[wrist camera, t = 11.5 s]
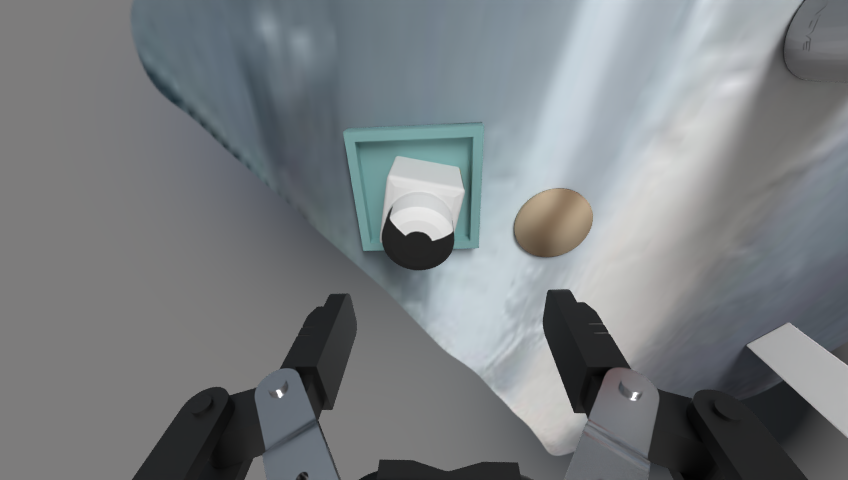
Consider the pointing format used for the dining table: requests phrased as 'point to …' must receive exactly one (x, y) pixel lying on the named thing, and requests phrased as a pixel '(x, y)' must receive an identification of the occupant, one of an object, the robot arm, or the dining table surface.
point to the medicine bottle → (420, 212)
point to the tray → (431, 143)
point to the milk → (807, 371)
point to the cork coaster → (553, 222)
